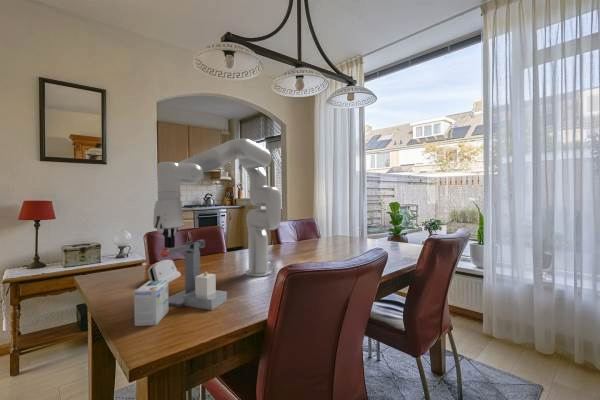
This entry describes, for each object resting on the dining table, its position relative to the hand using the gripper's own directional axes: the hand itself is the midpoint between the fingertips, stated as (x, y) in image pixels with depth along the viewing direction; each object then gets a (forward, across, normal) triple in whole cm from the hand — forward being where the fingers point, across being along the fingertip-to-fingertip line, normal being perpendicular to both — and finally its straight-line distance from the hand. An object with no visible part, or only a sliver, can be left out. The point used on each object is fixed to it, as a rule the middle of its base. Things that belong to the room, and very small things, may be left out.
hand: (169, 247), depth 109 cm
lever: (+3, -7, 0) cm, 8 cm away
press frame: (+20, -5, +8) cm, 22 cm away
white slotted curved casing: (+20, -21, -23) cm, 37 cm away
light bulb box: (+20, +13, +5) cm, 25 cm away
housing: (+16, -4, +13) cm, 21 cm away
